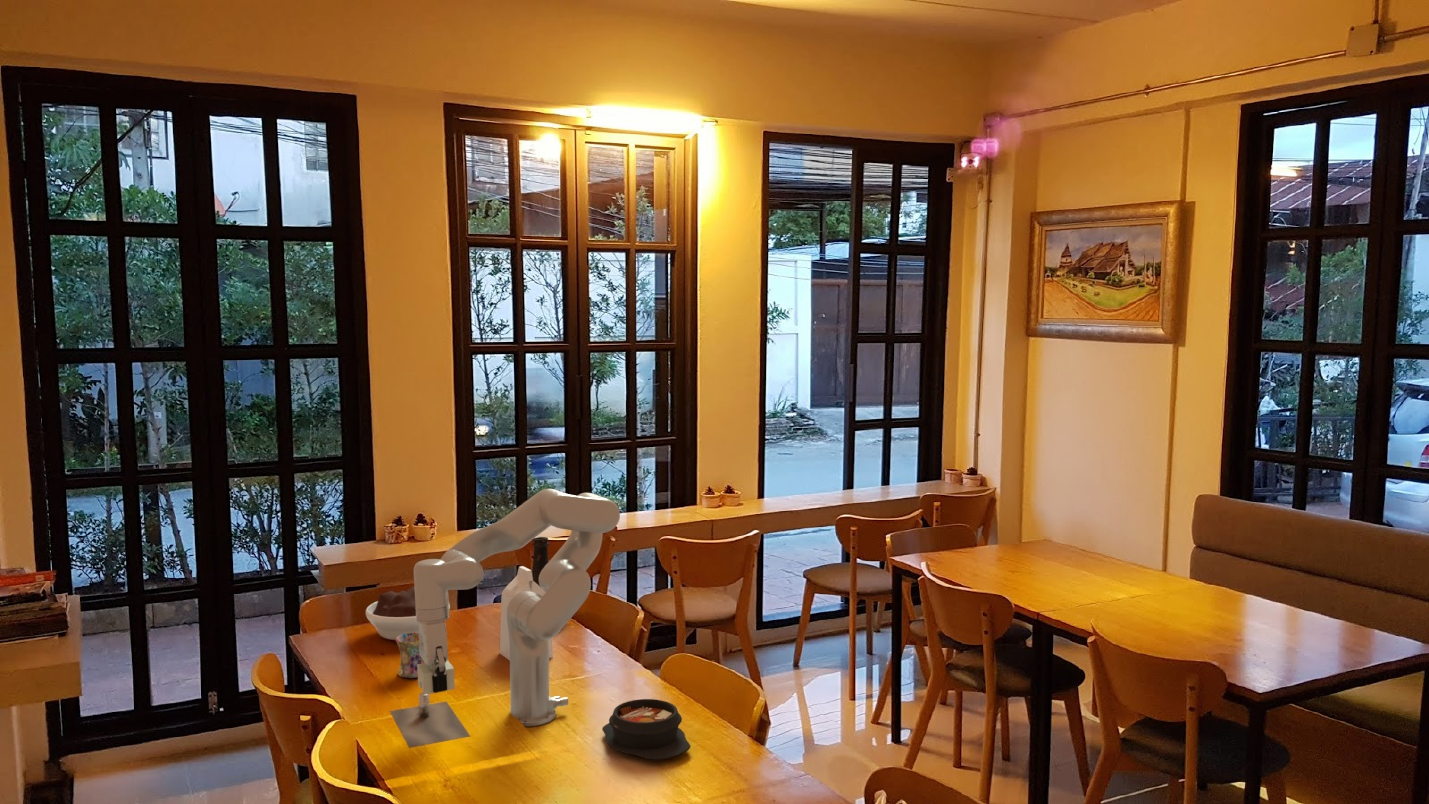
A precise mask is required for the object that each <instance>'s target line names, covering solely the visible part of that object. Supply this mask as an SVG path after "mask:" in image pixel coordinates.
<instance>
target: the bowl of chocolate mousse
mask: <svg viewBox="0 0 1429 804" xmlns="http://www.w3.org/2000/svg"><path fill="white" fill-rule="evenodd" d="M450 609H451V605H450V603H449V610H450ZM365 617H366V618H367V620H368V621H369V622H370V624H371V625H372V626H374V628H375V630H376V631H377V633H378V634H379V636H380V637H382V638H384V639H386V640H391V641H396V638H397V637H398V636H400V635H402V634H406V633H413V632H419V623H418V622H417V621H416V606H415V587H414V586H412V587H410V588H408V589H407V590H406V591H405V590H401V591H398V592H395V591H392V590H389V591H386V592H383V593H381V594H379V596H378V600H377V601H375V602H373V603H371V604H370V605H368V606H367V607H366V609H365Z"/></svg>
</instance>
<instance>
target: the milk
mask: <svg viewBox="0 0 1429 804" xmlns="http://www.w3.org/2000/svg"><path fill="white" fill-rule="evenodd" d="M522 591H532V592H535V593H537V594H539V595H541V596H543V595H544V594H545V593H546V592H545V591H544V590H543V589H542V588H541V587H540V586H539V585H538V584H536V583H535V582H534V581H533V577H532V569H529V568H527V567H525V566H523V565H521V566H518V569H517V574H516V576H515V577H514V578H513V579H512V580H511V581H510V582H509V583H508V584H507V585H506V587H504V588H503V590H502V592H501V601H500V603H501V606H500V629H499V631H500V634H499V635H500V638H499V654H500V655H501V656H503V657H505V659H506V660H508V661H510V640H509V631H508V625H507V615H506V613H507V607H508V604H509V602H510V600H511V599H512V597H513V596H514V595H516V594H517V593H519V592H522ZM552 638H553V637H552ZM552 638H551V639H548V642H549V659H552V658H554V651H553V639H552Z"/></svg>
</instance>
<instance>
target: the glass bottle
mask: <svg viewBox="0 0 1429 804" xmlns="http://www.w3.org/2000/svg"><path fill="white" fill-rule="evenodd" d="M548 540H549V538H548V537H546V536H536V537H535V538H534V539H533V542H532V543H531V544H530V545H531V546H533V557H532V559H533V560H532V568H531V571H532V577H533V581H534V582H535V583H536V584H538V585H539V586H540V584H539V575H540V573H541V571H542V569H543V568H544V567H545V566H546V564H547V563H548V562H549V551H548V550H549V548H548V547H549V546H550V542H549V541H548ZM540 587H541V586H540Z"/></svg>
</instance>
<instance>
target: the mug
mask: <svg viewBox="0 0 1429 804" xmlns="http://www.w3.org/2000/svg"><path fill="white" fill-rule="evenodd" d="M395 642H396V644H397V647H398V650H399V653H400V665H399V668H398V671H397V674H398V676H400V677H401V678H406V679H416V678H418V670H417V665H418V664H423V663H425V662H424V661H423V659H422V658H421V656H420V654H419V632H413V633H406V634H402V635H400V636H398V637H397V638H396V640H395Z"/></svg>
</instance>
